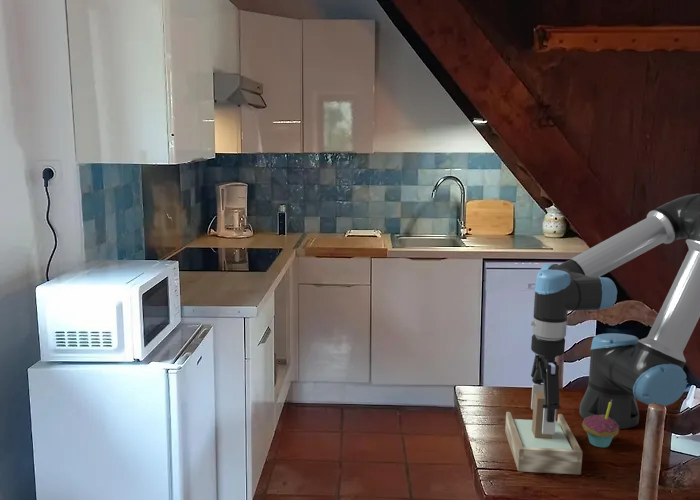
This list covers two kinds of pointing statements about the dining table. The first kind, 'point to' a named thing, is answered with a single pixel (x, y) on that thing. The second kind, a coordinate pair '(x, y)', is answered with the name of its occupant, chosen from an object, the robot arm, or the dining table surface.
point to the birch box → (544, 452)
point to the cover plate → (540, 442)
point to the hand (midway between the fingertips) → (542, 420)
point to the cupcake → (600, 428)
